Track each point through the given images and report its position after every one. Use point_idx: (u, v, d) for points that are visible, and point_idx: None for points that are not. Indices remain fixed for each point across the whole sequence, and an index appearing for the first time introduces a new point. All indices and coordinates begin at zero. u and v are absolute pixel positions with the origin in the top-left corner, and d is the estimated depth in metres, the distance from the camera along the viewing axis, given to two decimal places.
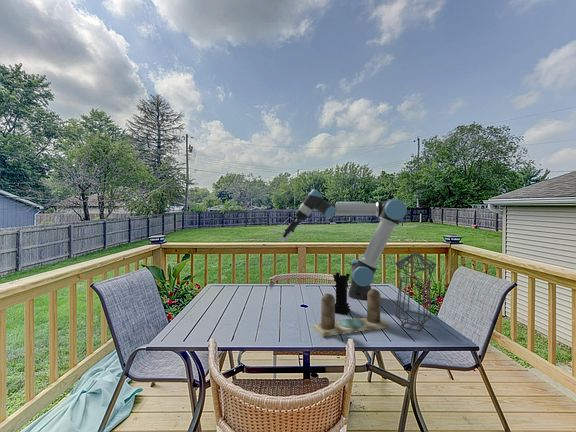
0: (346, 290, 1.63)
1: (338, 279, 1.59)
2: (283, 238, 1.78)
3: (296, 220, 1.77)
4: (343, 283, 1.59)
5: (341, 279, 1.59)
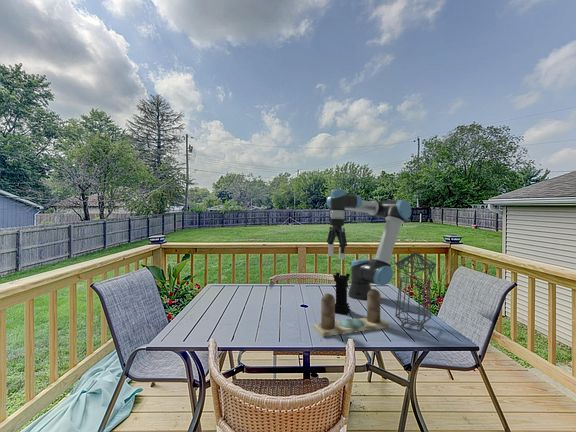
0: (346, 290, 1.63)
1: (338, 279, 1.59)
2: (342, 255, 1.56)
3: (343, 229, 1.56)
4: (343, 283, 1.59)
5: (341, 279, 1.59)
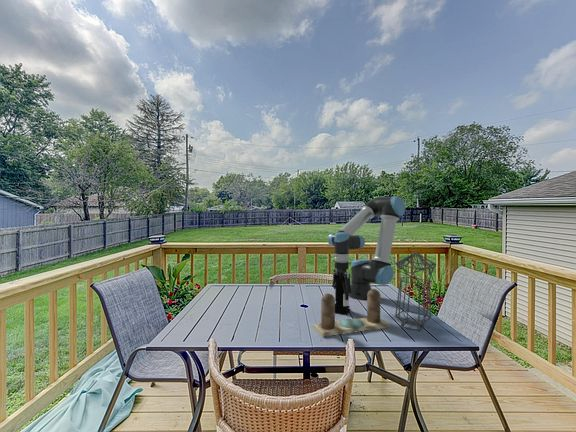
0: None
1: (338, 279, 1.59)
2: (346, 301, 1.57)
3: (348, 276, 1.56)
4: None
5: None
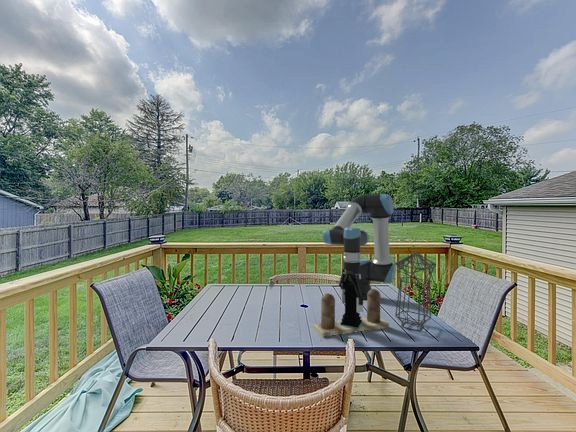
0: None
1: (348, 286, 1.36)
2: (360, 306, 1.32)
3: (360, 276, 1.32)
4: (354, 290, 1.36)
5: (351, 286, 1.36)
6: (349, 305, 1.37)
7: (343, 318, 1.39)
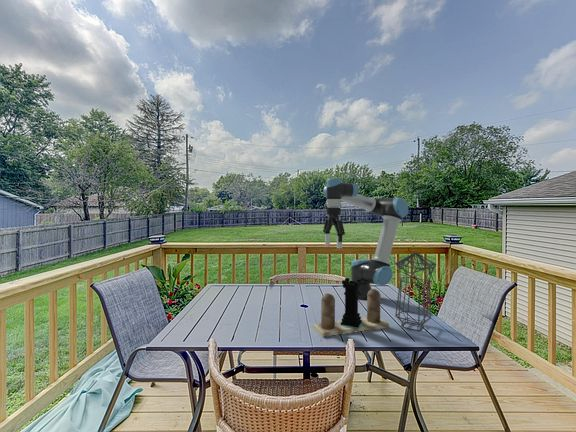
0: (357, 298, 1.40)
1: (348, 286, 1.36)
2: (340, 243, 1.56)
3: (340, 218, 1.56)
4: (354, 290, 1.36)
5: (351, 286, 1.36)
6: (349, 305, 1.37)
7: (343, 318, 1.39)
